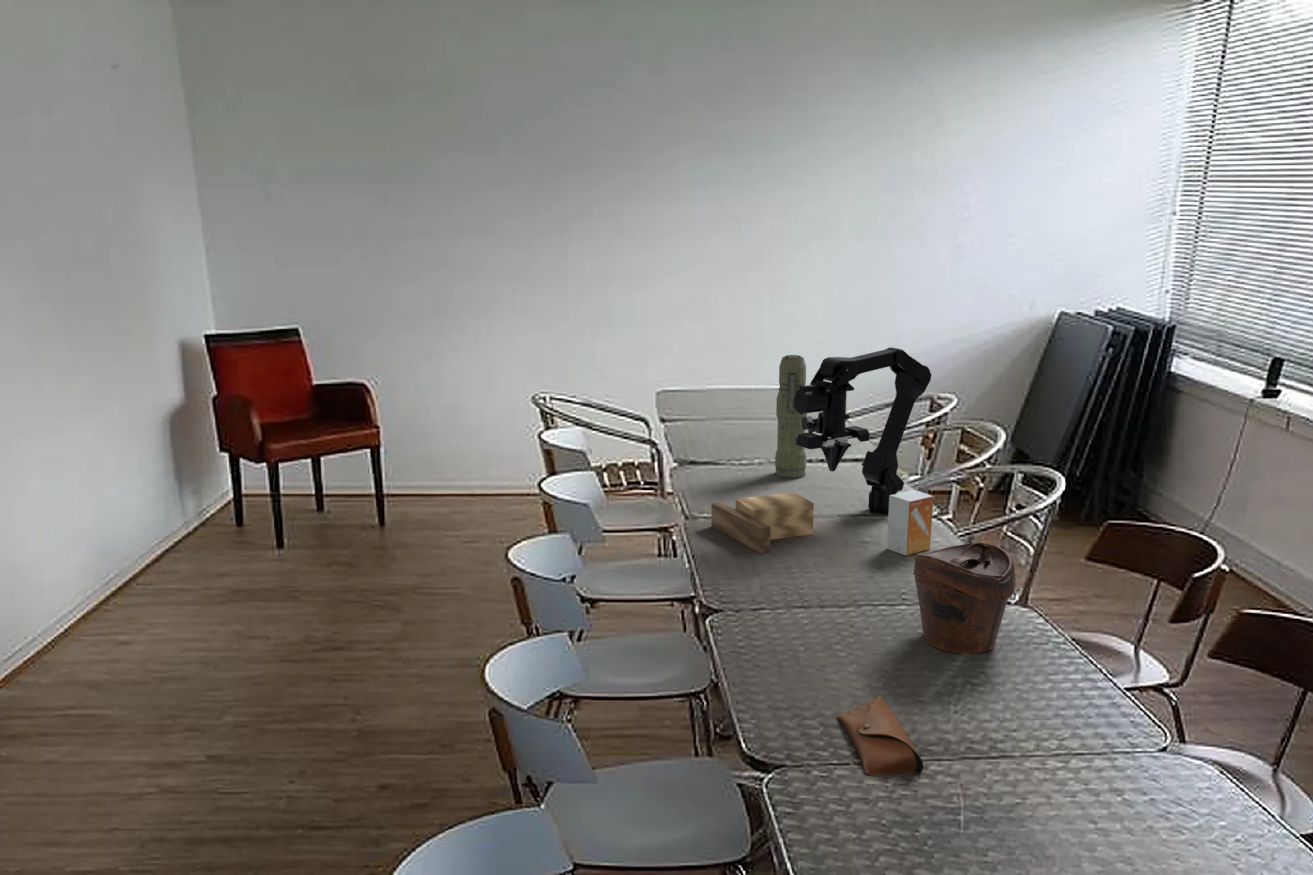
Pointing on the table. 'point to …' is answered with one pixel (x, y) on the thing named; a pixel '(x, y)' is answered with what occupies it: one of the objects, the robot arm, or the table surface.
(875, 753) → the sunglasses case
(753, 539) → the walnut board
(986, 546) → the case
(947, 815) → the table surface
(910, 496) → the small box
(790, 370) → the thermos
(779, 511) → the oak block
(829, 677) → the table surface
